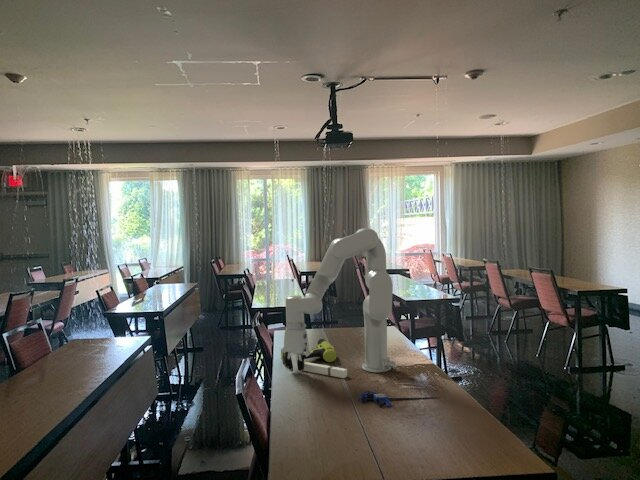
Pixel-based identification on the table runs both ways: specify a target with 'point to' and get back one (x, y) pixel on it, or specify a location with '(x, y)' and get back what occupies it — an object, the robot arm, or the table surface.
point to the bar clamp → (383, 398)
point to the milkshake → (295, 362)
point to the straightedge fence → (325, 369)
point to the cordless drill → (316, 352)
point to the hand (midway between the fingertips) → (296, 368)
